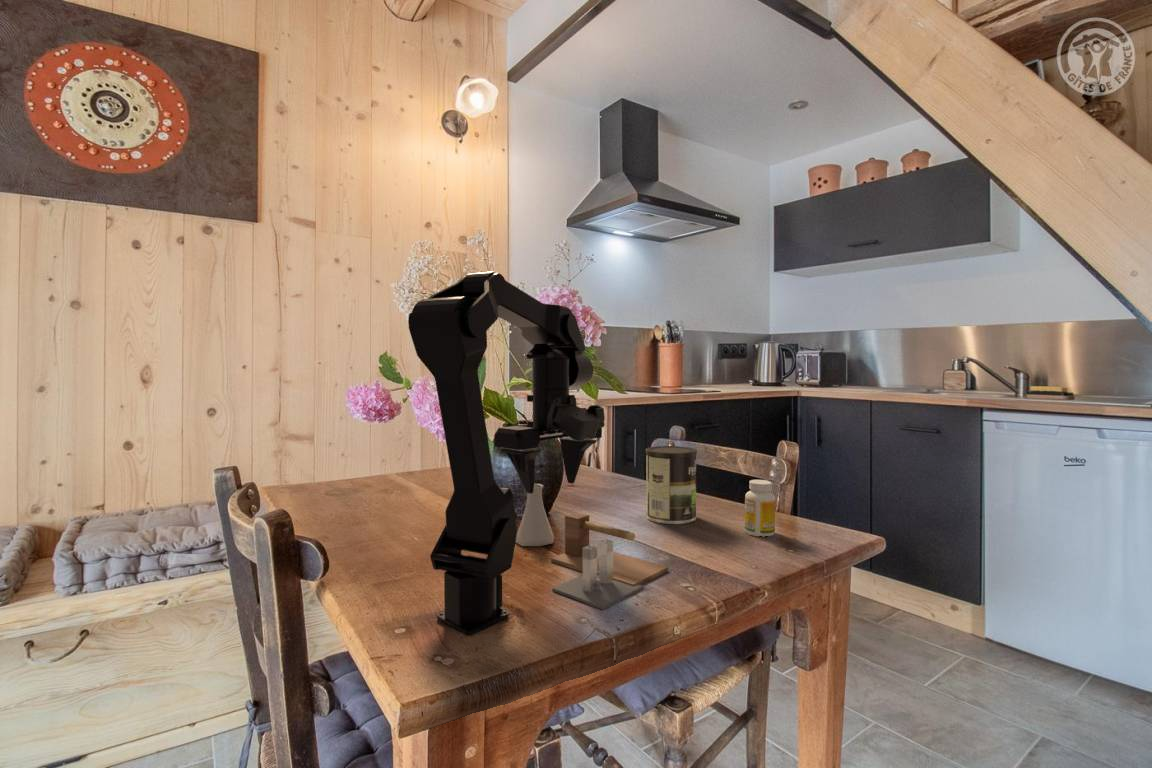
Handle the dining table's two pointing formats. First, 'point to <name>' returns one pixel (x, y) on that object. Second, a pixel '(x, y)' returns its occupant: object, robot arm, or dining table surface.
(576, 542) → the link stand
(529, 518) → the flask
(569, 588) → the slate coaster
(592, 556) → the slotted rectangular block
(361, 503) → the dining table surface
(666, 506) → the coffee can
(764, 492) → the supplement bottle
